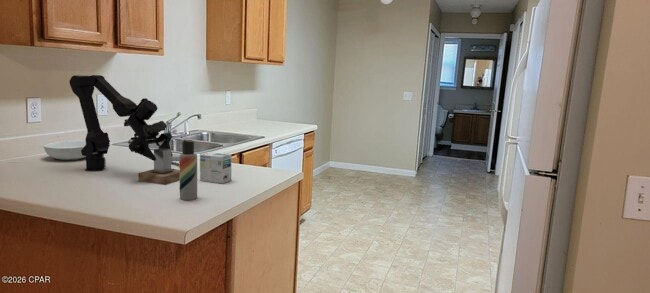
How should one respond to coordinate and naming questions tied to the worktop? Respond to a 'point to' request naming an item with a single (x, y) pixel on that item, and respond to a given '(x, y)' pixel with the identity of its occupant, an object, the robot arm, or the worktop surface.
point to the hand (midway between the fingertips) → (163, 158)
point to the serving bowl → (65, 150)
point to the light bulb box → (215, 167)
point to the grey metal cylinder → (175, 157)
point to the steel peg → (162, 161)
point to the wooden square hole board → (159, 177)
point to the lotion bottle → (188, 171)
